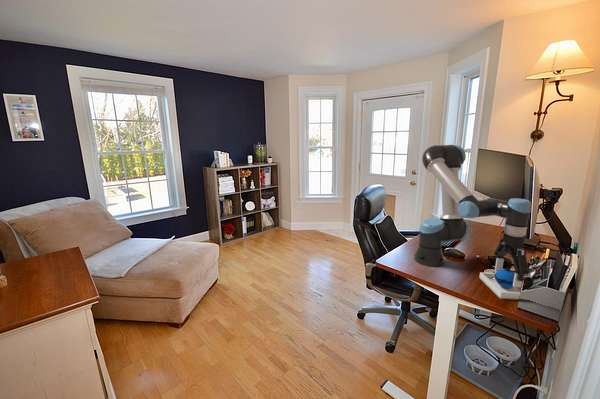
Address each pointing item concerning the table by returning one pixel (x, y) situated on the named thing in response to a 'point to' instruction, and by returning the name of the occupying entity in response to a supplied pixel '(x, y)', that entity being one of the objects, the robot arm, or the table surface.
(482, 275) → the bin
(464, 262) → the table surface
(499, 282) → the ornament
